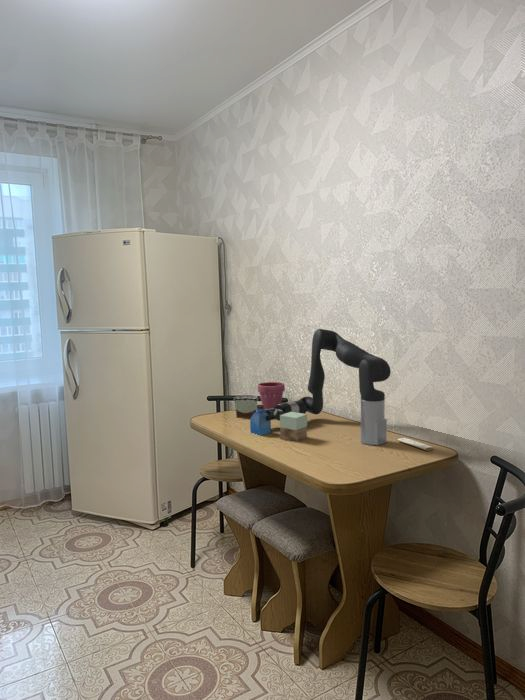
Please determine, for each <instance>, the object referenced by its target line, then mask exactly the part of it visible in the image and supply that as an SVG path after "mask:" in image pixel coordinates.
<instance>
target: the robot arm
mask: <svg viewBox="0 0 525 700" xmlns="http://www.w3.org/2000/svg"><path fill="white" fill-rule="evenodd" d="M322 350H324V351H332V352H335V357H336V358H337V359H338V360H339V361H340V362H341V363H343V364H345V365H346V366H348V367H351V368H354V369H355V368H356V369H358V381H359V382H358V383H359V384H358V387H359V393H360V394H359V395H360V443H362V444H364V445H370V446H380V445H383V444H387V437H388V436H387V431H388V430H387V427H388V426H387V425H388V424H387V422H388V420H387V419H386V418H385V413H386V412H385V410H386V408H385V405H386V404H385V403H386V402H385V400H386V399H385V398H386V394H385V392H384V391H382V390H379V389H377V388H375V387H374V383H380V382H384V381H386V380H388V379H389V378H390V375H391V367H390V364H389V363H388V362H387V361H386V360H385V359H384V358H382V357H379V356H376V355H374V354H371V353H369V352H368V351H366V350H364V349H363V348H361V347H359V346H357V344H354V343H353V342H351V341H348V340H346V339H344V338H343V337H342V336H341V335H339V333H337V332H336V331H334V330H331V329H330V330H328V329H323V328H318V329H316V330H315V331H314V333H313V335H312V341H311V356H310V357H311V360H310V372H309V373H310V374H309V379H308V385H307V391H308V392H309V393H310V394H311V395H312V396H304V397H302V398H299V399H298V400H293V401H287V402H283V403H282V402H281V404H277V405H276V406H275V408H271V409H268V408H264V413H267V414H268V415H267V416H266V421H270V420H271V421H279V422H280V415H283V414H286V413H289V412H296V413H303V414H307V412H308V413H309V414H312V415H313V414H314V415H319V414H320V413H321V412H322V411H323V408H324V395H323V394H324V393H323V390H324V385H325V379H326V378H325V377H326V375H325V370H324V366H323V364H322V363H323V362H322V361H321V352H322ZM256 412H257V411H256ZM256 412H253V413H256Z"/></svg>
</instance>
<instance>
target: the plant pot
mask: <svg viewBox="0 0 525 700" xmlns="http://www.w3.org/2000/svg"><path fill="white" fill-rule="evenodd" d="M285 390H286V387H285V383H283V382H279V381H277V382H276V381H267V382H260V383H258V384H257V392H258V393H259V397H260V402H261V405H264V407H263V408H268V409H271V408H275V406H276V405H277V404H281V403H282V400H283V395H284V392H285Z"/></svg>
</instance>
